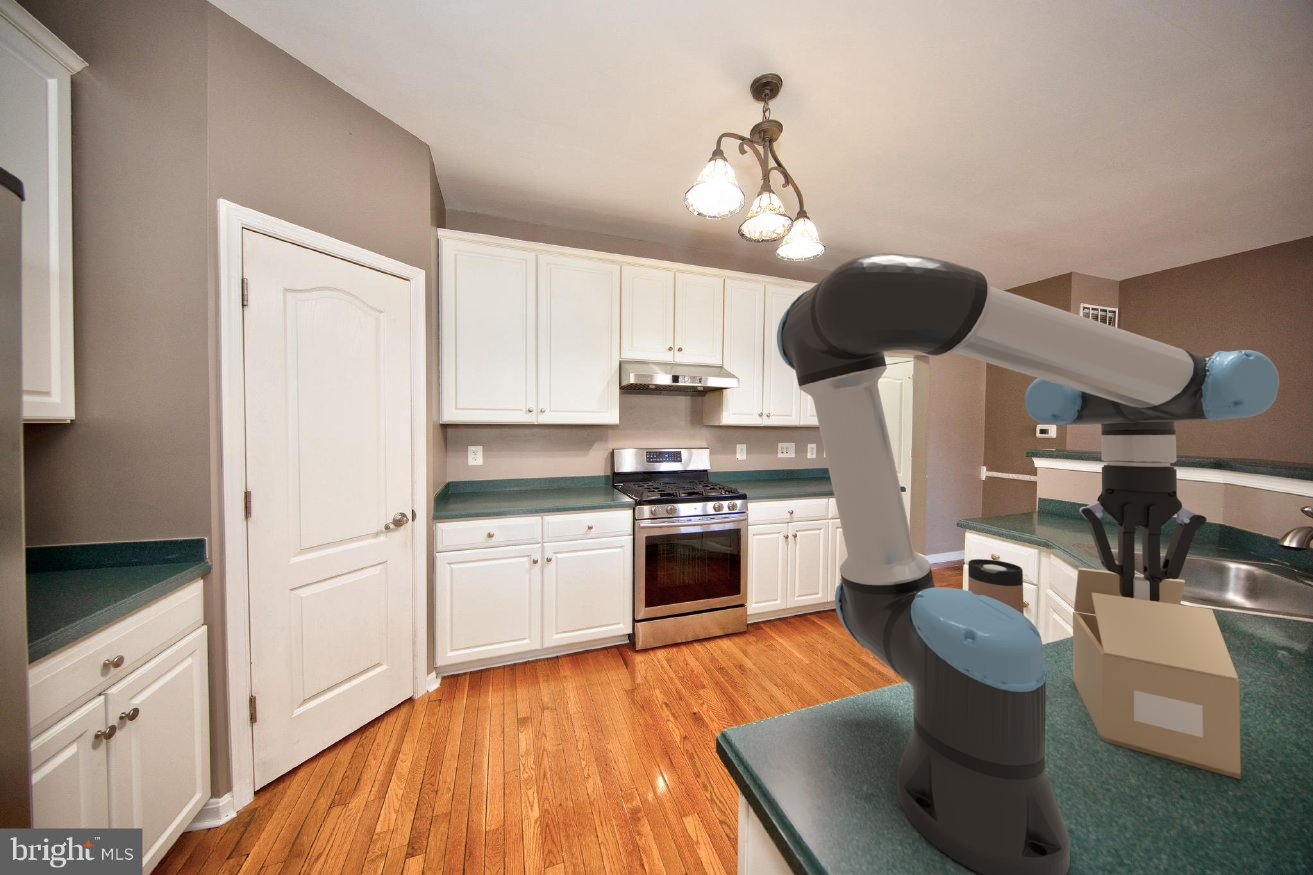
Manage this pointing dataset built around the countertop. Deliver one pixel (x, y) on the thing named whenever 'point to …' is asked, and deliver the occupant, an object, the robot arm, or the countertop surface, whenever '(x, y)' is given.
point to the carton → (1157, 705)
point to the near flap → (1162, 634)
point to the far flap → (1116, 588)
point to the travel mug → (997, 581)
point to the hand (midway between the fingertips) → (1139, 621)
